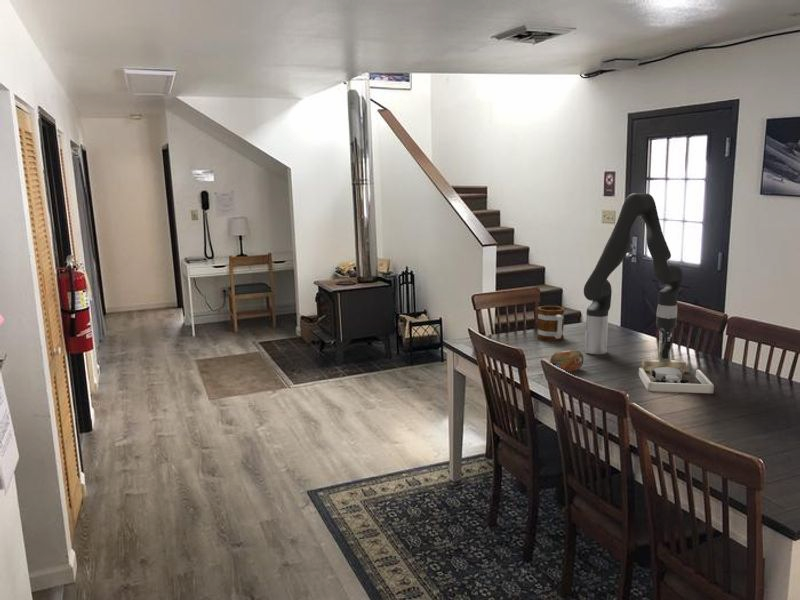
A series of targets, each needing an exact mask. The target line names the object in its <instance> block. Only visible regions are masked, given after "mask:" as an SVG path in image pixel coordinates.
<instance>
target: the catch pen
mask: <svg viewBox="0 0 800 600" xmlns="http://www.w3.org/2000/svg"><path fill="white" fill-rule="evenodd" d="M638 376H639V379H640V380H641V382H642V383H643V385H644V387H645V388H646V390H647V391H648V392H669V393H672V392H673V393H691V394H692V393H693V394H695V393H696V394H714V391H715V390H714V388H715V384H713V382H712V381H710V379H709V377H707V376H706V375H705V374H704V373H703V372H702V370H701V369H696V370H695V378H696V379H697V380H698V381H699V383H691V384H687V383H681V382H680V383H660V382H659V381H658V382H655V381H654V382H653V381H651V380H650V378H649V375H648V374H647V373H646V371H644V370H643V368H642V367H639V368H638Z"/></svg>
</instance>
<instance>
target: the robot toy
mask: <svg viewBox="0 0 800 600" xmlns="http://www.w3.org/2000/svg"><path fill="white" fill-rule="evenodd" d="M649 370H650V368H649ZM681 371H682V369H681ZM681 371H680V370H679V369H676V368H669V367H660V368H655V369H654V370H652V371H649V372H650V376H652V377H653V379H655V380H657V381H658V382H659V383H687V384H692V383H691V382H689V380H686V379H685V378H684V377H685V372H683V371H682V372H681Z"/></svg>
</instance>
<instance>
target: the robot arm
mask: <svg viewBox="0 0 800 600" xmlns="http://www.w3.org/2000/svg"><path fill="white" fill-rule="evenodd" d="M639 216H641V218H642V220H643V221H644V224H645V228H646V245H647V249H648V252H649V253H650V256H651V259H652V264H653V273H654V277H655V279H656V281H657V282H658V283H660V284H661V285H664V288H662V289H661V290H659V292H658V297H657V298H658V299H657V308H656V320H655V321H656V322H655V326H656V327H657V328H660V329H659V330H658V335H659V340H658V342H659V341H661V343H662V344H663V347H662V349H663V350H662V358H663V359H667V358H668V353H669V349H672V343H673V333H672V332H671V330H672V329H676V328H677V323H678V321H677V320H678V319H677V318H678V295H679V291H680V289H681V286H682V283H683V280H684V279H683V278H684V272H683V270H682V268H681V267H680V265H679V266H678V265H676V264H674V265H668V261H669V260H670V259H671V258H672V257H671V256H672V254H671V250H670V248H669V246H668V243H667V241H666V238H665V236H664V232H663V230H662V227H661V222H660V218H659V214H658V210H657V205H656V201H655V199H654V197H653V196H652V194H649V193H646V192H633V193H630V194H629V195H627V197H626V198H625V199H624V201H623V204H622V207H621V209H620V212H619V215H618V219H617V220H616V222H615V225H614V228H613V229H612V232H611V234H610V237H609V238H608V240H607V242H606V244H605V245H604V248H603V251H602V252H601V256H600V257H599V259H598V261H597V263H596V265H595V267H594V269H593V271H592V272H591V274H590V276H589V278H587V281H586V283H585V284H584V286H583V294H584V297H585V299H586V300H588V301H589V302H590V301H591V304H590V305H589V306H588V307H587V308H586V318H585V331H584V351H585V353H586V354H590V355H604V354H607V353H608V352H607V350H608V329H609V328H608V327H609V326H608V323H609V312H610V309H611V305H612V304H611V303H612V294H613V293H612V292H613V291H612V285H611V283H610V281H609V280H608V278H609V276H610V275H611V274H612V273H613V272H614V271H615V270H616V269H617V268H618V267H619V266H620V265H621V263H623V261H624V260H625V258H626V256H627V254H628V252H629V250H630V247H631V243H632V242H631V238H632V237H631V236H632V235H631V230H632V228H633V225H634V223H635V221H636V219H637V218H638V217H639ZM666 345H668V346H666Z"/></svg>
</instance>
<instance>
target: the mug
mask: <svg viewBox="0 0 800 600" xmlns="http://www.w3.org/2000/svg"><path fill="white" fill-rule="evenodd" d="M564 312H565V307H564V306H559V305H543V306H538V307H537V336H536V337H537V340H539V341H543V342H561V341H564V339H563V338H564V337H565V336H564V326H565V319H564V314H565V313H564Z"/></svg>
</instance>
